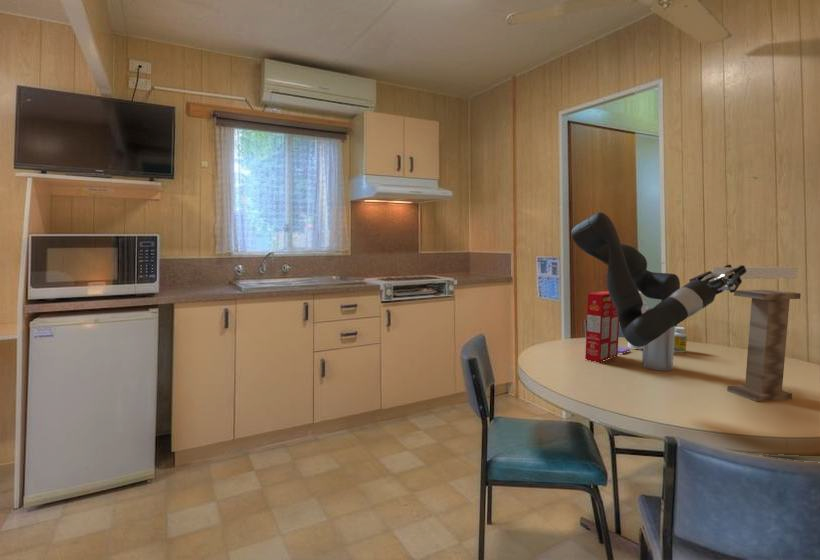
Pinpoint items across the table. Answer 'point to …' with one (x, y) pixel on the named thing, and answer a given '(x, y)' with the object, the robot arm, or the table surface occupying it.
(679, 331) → the supplement bottle
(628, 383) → the table surface
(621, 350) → the sponges
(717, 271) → the beige long bar
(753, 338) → the walnut stand
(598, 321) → the food packaging
